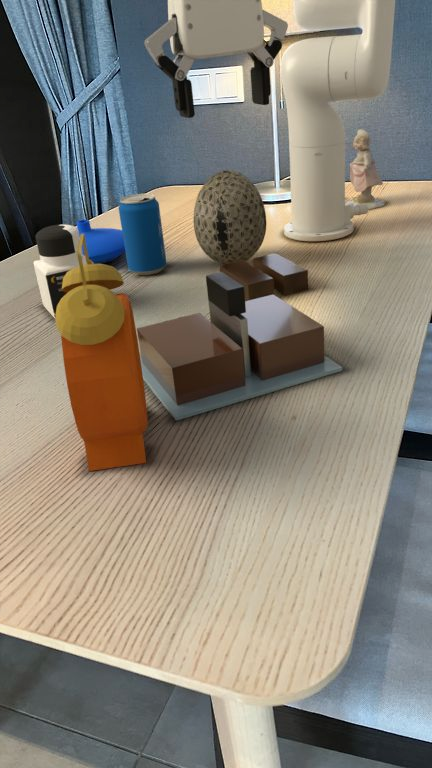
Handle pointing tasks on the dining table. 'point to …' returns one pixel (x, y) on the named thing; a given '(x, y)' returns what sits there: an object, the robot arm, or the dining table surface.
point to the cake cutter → (229, 312)
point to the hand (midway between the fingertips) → (224, 110)
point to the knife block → (267, 276)
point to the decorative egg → (229, 217)
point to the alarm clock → (102, 365)
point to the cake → (231, 357)
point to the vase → (101, 242)
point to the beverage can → (142, 234)
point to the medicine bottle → (56, 261)
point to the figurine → (364, 173)
